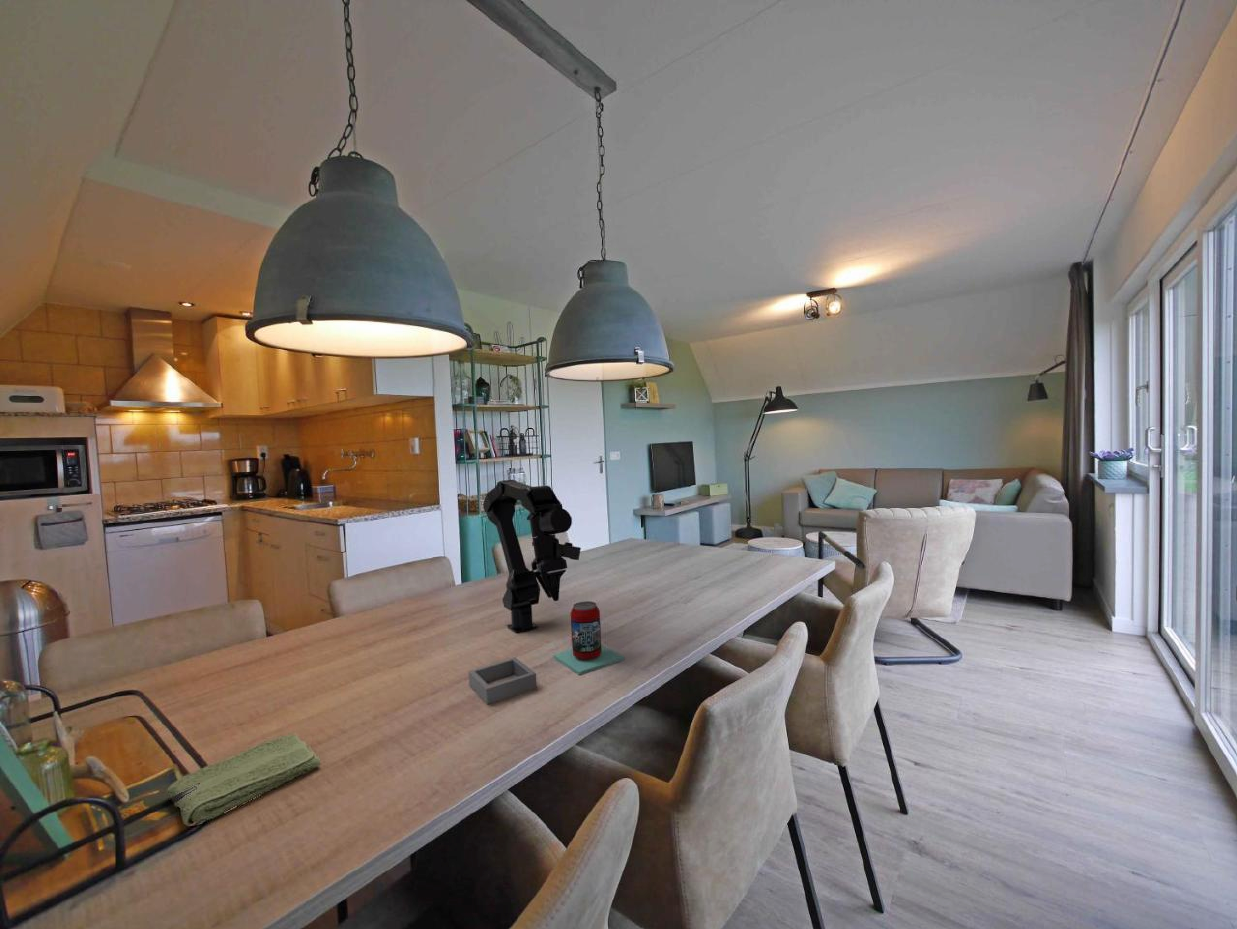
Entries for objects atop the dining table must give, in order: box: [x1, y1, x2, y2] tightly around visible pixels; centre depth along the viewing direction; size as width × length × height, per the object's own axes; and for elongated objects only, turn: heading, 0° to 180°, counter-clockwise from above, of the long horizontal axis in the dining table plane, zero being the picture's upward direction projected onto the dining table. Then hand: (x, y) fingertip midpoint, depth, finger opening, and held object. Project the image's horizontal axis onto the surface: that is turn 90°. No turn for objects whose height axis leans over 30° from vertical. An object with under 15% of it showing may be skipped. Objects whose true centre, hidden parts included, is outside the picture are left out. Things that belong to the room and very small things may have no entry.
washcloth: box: [166, 733, 322, 827], centre depth 81 cm, size 13×18×3 cm
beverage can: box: [570, 601, 602, 660], centre depth 120 cm, size 7×7×12 cm
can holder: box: [467, 657, 538, 705], centre depth 109 cm, size 11×11×3 cm
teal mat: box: [552, 644, 625, 676], centre depth 121 cm, size 12×12×1 cm
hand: (553, 599), depth 128 cm, fingers open, 9 cm apart
